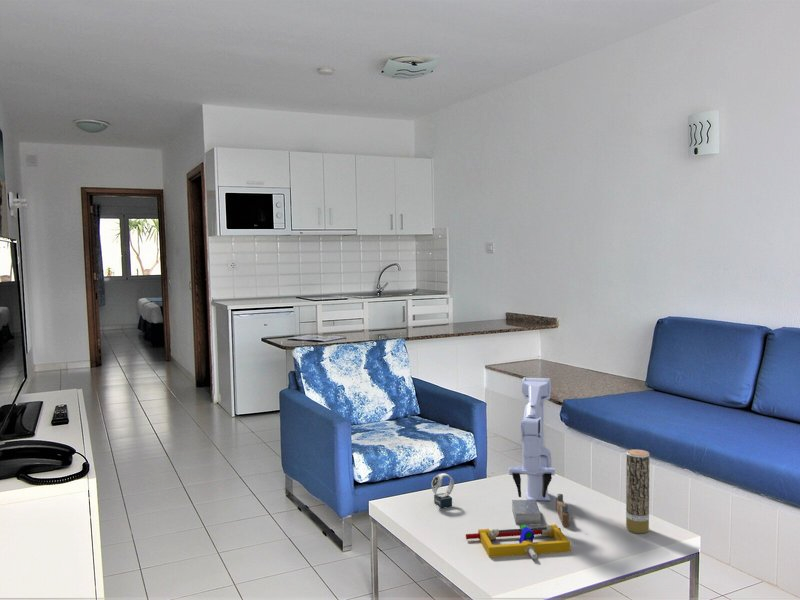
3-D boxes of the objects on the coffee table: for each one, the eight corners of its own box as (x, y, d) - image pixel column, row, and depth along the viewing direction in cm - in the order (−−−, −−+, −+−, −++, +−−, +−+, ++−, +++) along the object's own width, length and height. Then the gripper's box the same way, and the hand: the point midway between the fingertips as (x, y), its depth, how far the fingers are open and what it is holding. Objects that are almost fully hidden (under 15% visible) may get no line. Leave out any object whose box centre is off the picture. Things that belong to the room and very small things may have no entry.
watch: (429, 504, 239) (428, 473, 238) (449, 500, 242) (449, 470, 241) (435, 509, 234) (435, 478, 233) (456, 505, 237) (456, 475, 236)
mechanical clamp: (464, 520, 210) (558, 514, 213) (464, 540, 210) (558, 533, 213) (478, 545, 191) (580, 538, 195) (478, 566, 192) (579, 559, 195)
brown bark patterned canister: (653, 530, 213) (653, 453, 211) (640, 536, 209) (640, 457, 207) (634, 523, 219) (635, 448, 217) (621, 529, 215) (622, 452, 213)
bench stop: (556, 509, 232) (556, 492, 232) (562, 509, 232) (562, 492, 232) (562, 526, 217) (562, 508, 217) (569, 526, 217) (569, 508, 217)
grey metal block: (512, 511, 232) (512, 499, 232) (535, 511, 231) (535, 500, 231) (515, 525, 220) (515, 513, 220) (540, 525, 219) (540, 513, 219)
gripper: (509, 458, 214) (510, 500, 215) (556, 458, 213) (556, 500, 214) (507, 452, 221) (508, 492, 222) (552, 452, 220) (552, 493, 221)
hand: (531, 496), depth 218 cm, fingers open, 7 cm apart
